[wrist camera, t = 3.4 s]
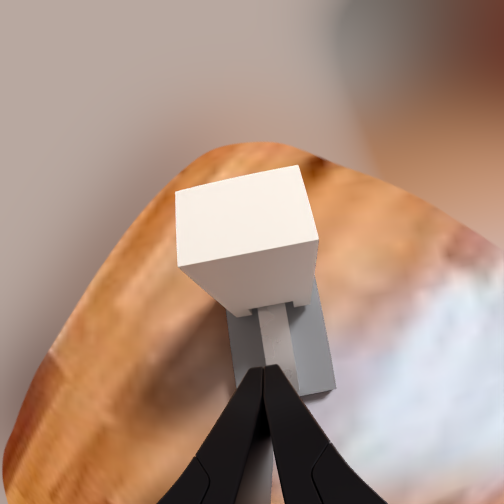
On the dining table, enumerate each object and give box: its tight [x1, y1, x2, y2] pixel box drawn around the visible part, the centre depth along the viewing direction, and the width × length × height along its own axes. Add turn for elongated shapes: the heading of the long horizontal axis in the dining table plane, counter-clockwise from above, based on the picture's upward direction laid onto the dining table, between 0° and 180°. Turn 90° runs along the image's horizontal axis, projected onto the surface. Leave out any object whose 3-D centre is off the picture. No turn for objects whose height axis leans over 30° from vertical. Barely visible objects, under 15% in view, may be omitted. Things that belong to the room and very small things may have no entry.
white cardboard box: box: [175, 165, 319, 317], centre depth 14 cm, size 3×5×10 cm, turn 98°
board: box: [226, 275, 336, 396], centre depth 19 cm, size 13×6×1 cm, turn 8°
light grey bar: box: [257, 303, 299, 391], centre depth 18 cm, size 12×2×2 cm, turn 8°
